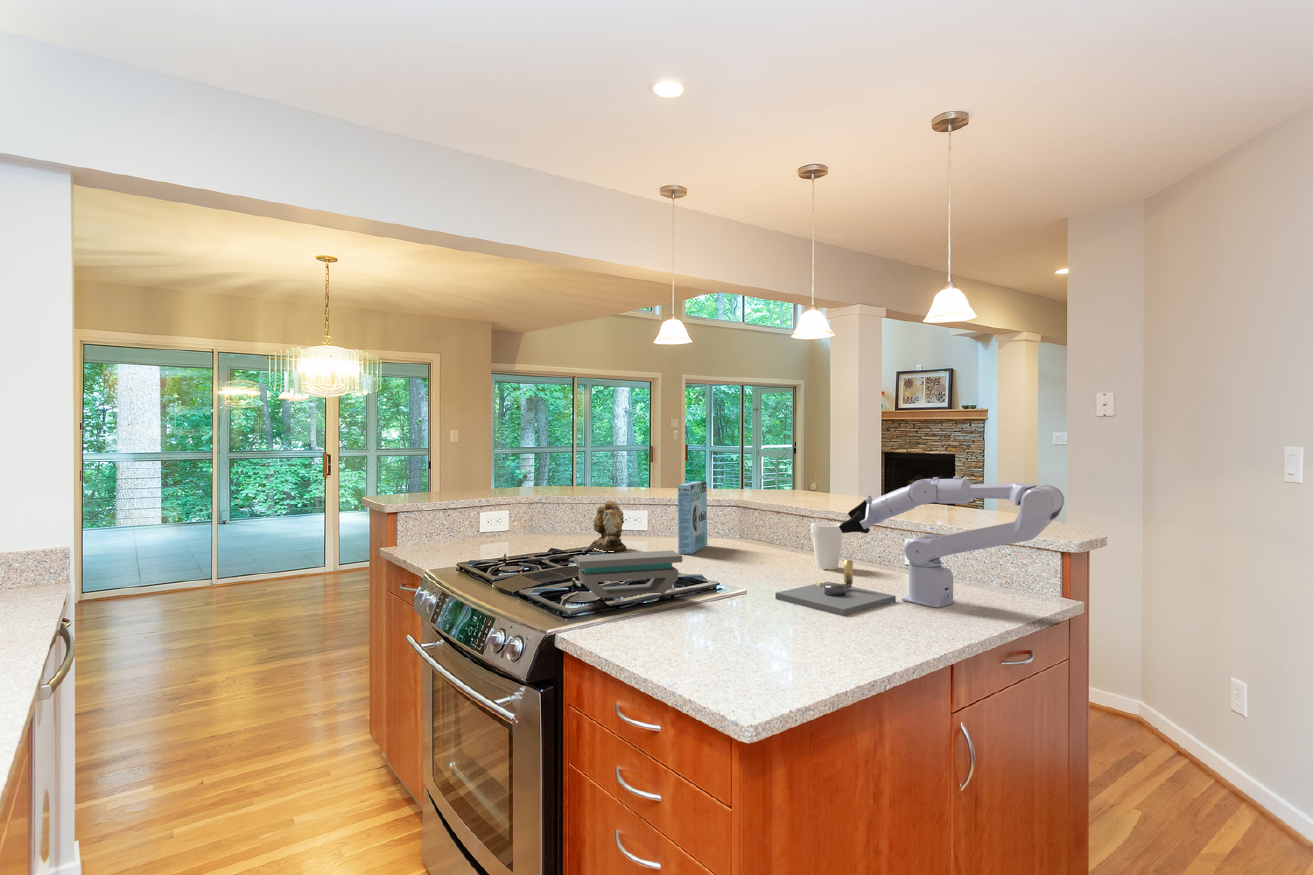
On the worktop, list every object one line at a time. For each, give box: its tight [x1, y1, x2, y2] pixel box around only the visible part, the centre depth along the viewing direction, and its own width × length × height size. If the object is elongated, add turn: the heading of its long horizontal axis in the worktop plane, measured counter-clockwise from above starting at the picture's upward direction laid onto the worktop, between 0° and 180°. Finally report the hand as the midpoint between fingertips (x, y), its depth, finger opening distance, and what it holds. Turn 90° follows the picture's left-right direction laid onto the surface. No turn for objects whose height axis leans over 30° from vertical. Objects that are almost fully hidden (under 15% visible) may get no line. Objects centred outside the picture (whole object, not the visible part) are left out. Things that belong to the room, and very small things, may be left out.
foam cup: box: [810, 521, 844, 570], centre depth 206 cm, size 10×9×13 cm
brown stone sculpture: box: [589, 499, 627, 553], centre depth 241 cm, size 18×12×17 cm, turn 27°
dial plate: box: [774, 580, 897, 617], centre depth 168 cm, size 20×20×2 cm
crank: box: [824, 559, 854, 596], centre depth 170 cm, size 10×5×7 cm, turn 138°
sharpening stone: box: [573, 550, 683, 599], centre depth 168 cm, size 25×8×11 cm, turn 106°
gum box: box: [677, 481, 708, 555], centre depth 239 cm, size 20×5×23 cm, turn 160°
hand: (845, 522), depth 180 cm, fingers open, 7 cm apart
